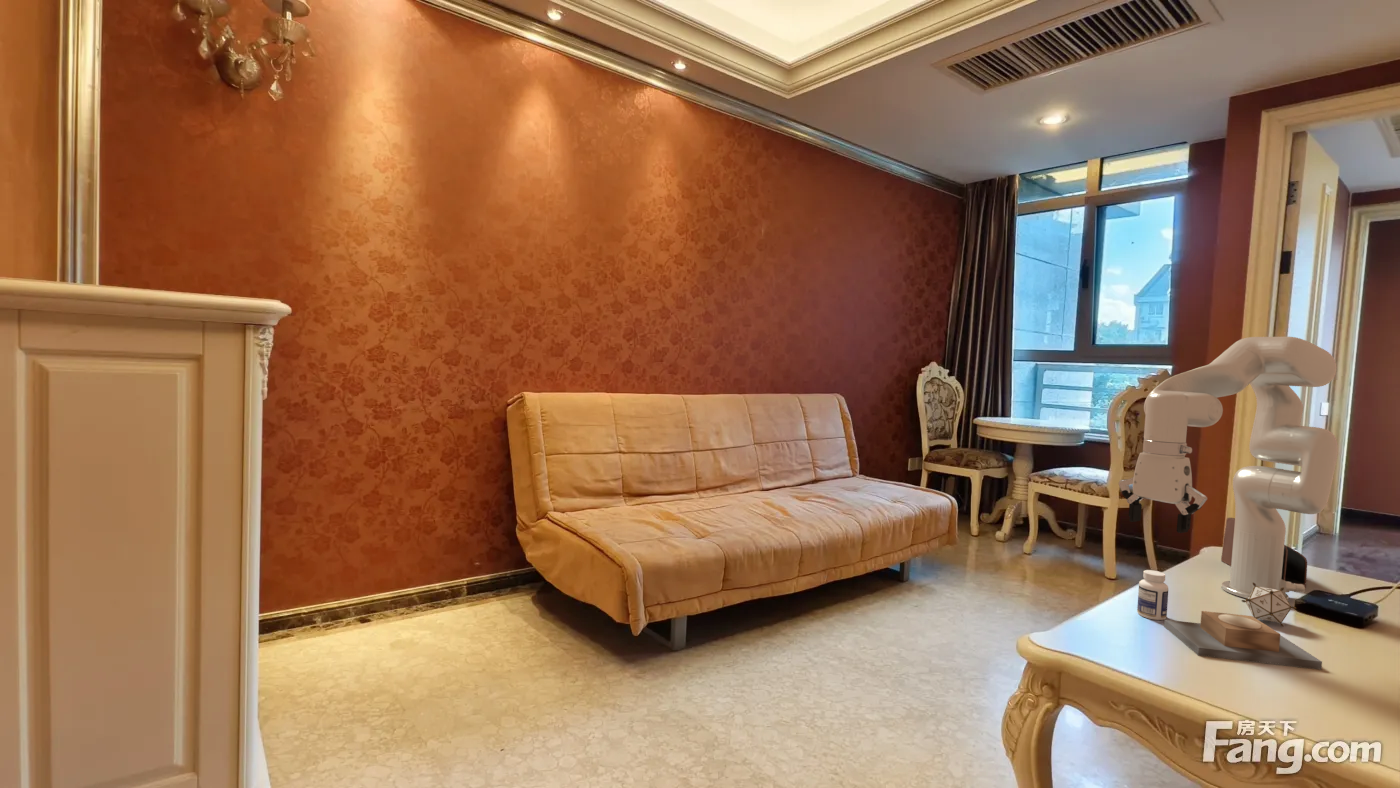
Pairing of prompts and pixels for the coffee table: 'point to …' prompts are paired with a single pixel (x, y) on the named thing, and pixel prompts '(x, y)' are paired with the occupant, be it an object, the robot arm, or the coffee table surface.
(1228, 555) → the letter holder
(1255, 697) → the coffee table surface
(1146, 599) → the pill bottle
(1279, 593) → the game die
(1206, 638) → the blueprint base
